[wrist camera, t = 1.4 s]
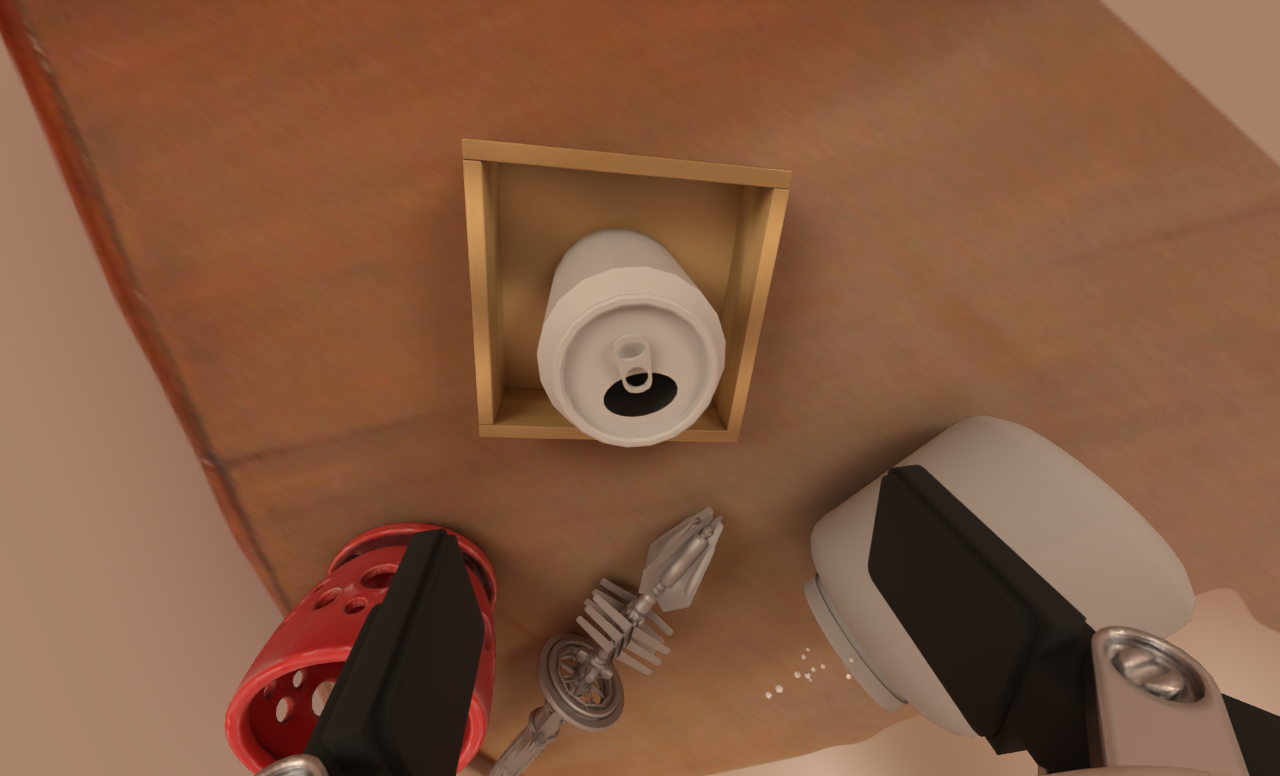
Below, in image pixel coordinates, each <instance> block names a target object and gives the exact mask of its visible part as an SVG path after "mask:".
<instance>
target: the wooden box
mask: <svg viewBox="0 0 1280 776" xmlns="http://www.w3.org/2000/svg"><path fill="white" fill-rule="evenodd" d="M461 143H462V157H463V159H464V160H463V173H464V190H465V206H466V222H467V238H468V255H469V271H470V287H471V304H472V320H473V336H474V352H475V369H476V385H477V401H478V418H479V436H480V437H486V438H534V439H582V440H596V439H594V438H592V437H590V436H588V435H586V434H584V433H582V432H581V431H580V430H579V429H578V428H577V427H576V426H575V425H573V424H571V423H570V422H569V421H568V420H567V419H566V418H565V417H564V416H563V415H562V414H561V413H560V412H559V411H558V410H557V409H556V408H555V407H554V406H553V405H552V403H551V401H550V399H549V397H548V395H547V393H546V391H545V389H544V387H543V385H542V383H541V381H540V374H539V366H538V359H537V351H538V346H539V341H540V337H541V332H542V328H543V323H544V319H545V314H546V310H547V305H548V301H549V296H550V292H551V287H552V283H553V278H554V274H555V269H556V268H557V266H558V264H559V263H560V261H561V259H562V258H563V256H564V254H565V253H566V251H567V250H568V249H569V248H571V247H572V246H573V245H574V244H575V243H576V242H578V241H579V240H580V239H581V238H582V237H584V236H587V235H589V234H592V233H594V232H597V231H599V230H602V229H611V228H628V229H631V230H635V231H638V232H642V233H645V234H647V235H649V236H650V237H652V238H653V239H655V240H656V241H657V242H659V243H660V244H662V245H663V246H664V247H665V248H666V249H667V250H668V252H669V253H670V254H671V255H672V257H673V258H674V259H675V260H676V262H677V263H678V264H679V265H680V267H681V268H682V269H683V270H684V271H685V273H686V274H687V275H688V276H689V278H690V279H691V280H692V281H693V283H694V284H695V285H696V286H697V288H698V289H699V290H700V291H701V293H702V294H703V295H704V297H705V298H706V299H707V301H708V302H709V303H710V305H711V306H712V308H713V309H714V310H715V312H716V313H717V314H718V317H719V321H720V324H721V327H722V331H723V334H724V338H725V341H726V343H725V363H724V370H723V373H722V375H721V378H720V380H719V383H718V385H717V388H716V391H715V393H714V394H713V397H712V399H711V402H710V404H709V406H708V407H707V408H706V409H705V411H704V412H703V413H702V414H701V416H700V417H699V418H698V419H697V421H696V422H695V423H694V424H693V425H691V426H690V427H688V428H687V429H686V430H684V431H683V432H681V433H680V434H679V435H677V436H676V437H674V438H671V439H669V440H666V441H679V442H727V443H737V442H738V438H739V433H740V429H741V424H742V419H743V414H744V409H745V404H746V400H747V395H748V390H749V385H750V380H751V375H752V371H753V366H754V361H755V356H756V351H757V346H758V342H759V337H760V332H761V327H762V322H763V317H764V313H765V308H766V303H767V298H768V293H769V288H770V284H771V279H772V274H773V269H774V264H775V259H776V255H777V250H778V245H779V240H780V235H781V230H782V226H783V221H784V216H785V211H786V206H787V201H788V197H789V192H790V190H789V189H790V186H791V181H792V177H793V171H791V170H782V169H773V168H765V167H755V166H745V165H735V164H725V163H715V162H705V161H695V160H685V159H674V158H664V157H654V156H644V155H634V154H624V153H614V152H604V151H594V150H583V149H573V148H563V147H553V146H543V145H533V144H523V143H513V142H502V141H492V140H482V139H468V138H462V139H461Z"/></svg>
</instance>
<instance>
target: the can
mask: <svg viewBox="0 0 1280 776" xmlns="http://www.w3.org/2000/svg"><path fill="white" fill-rule="evenodd" d="M725 343H726V341H725V338H724V334H723V331H722V327H721V324H720V321H719V317H718V314H717V313H716V312H715V310H714V309H713V308H712V306H711V305H710V303H709V302H708V301H707V299H706V298H705V297H704V295H703V294H702V293H701V291H700V290H699V289H698V288H697V286H696V285H695V284H694V283H693V281H692V280H691V279H690V278H689V276H688V275H687V274H686V273H685V271H684V270H683V269H682V268H681V267H680V265H679V264H678V263H677V262H676V260H675V259H674V258H673V257H672V255H671V254H670V253H669V252H668V250H667V249H666V248H665V247H664V246H663V245H662V244H660V243H659V242H657V241H656V240H655V239H653V238H652V237H650V236H649V235H647V234H645V233H642V232H638V231H635V230H631V229H628V228H611V229H602V230H599V231H597V232H594V233H592V234H589V235H587V236H584V237H582V238H581V239H580V240H579V241H578V242H576V243H575V244H574V245H573V246H572V247H571V248H569V249H568V250H567V251H566V253H565V254H564V256H563V258H562V259H561V261H560V263H559V264H558V266H557V268H556V269H555V274H554V278H553V283H552V287H551V292H550V296H549V301H548V305H547V310H546V314H545V319H544V323H543V328H542V332H541V337H540V341H539V346H538V351H537V359H538V366H539V374H540V381H541V383H542V385H543V387H544V389H545V391H546V393H547V395H548V397H549V399H550V401H551V403H552V405H553V406H554V407H555V408H556V409H557V410H558V411H559V412H560V413H561V414H562V415H563V416H564V417H565V418H566V419H567V420H568V421H569V422H570V423H571V424H573V425H575V426H576V427H577V428H578V429H579V430H580V431H581V432H582V433H584V434H586V435H588V436H590V437H592V438H594V439H596V440H598V441H600V442H602V443H605V444H610V445H615V446H621V447H626V448H629V447H641V446H652V445H655V444H657V443H660V442H663V441H666V440H669V439H671V438H674V437H676V436H677V435H679V434H680V433H681V432H683V431H684V430H686V429H687V428H688V427H690V426H691V425H693V424H694V423H695V422H696V421H697V419H698V418H699V417H700V416H701V414H702V413H703V412H704V411H705V409H706V408H707V407H708V406H709V404H710V402H711V399H712V397H713V394H714V393H715V391H716V388H717V385H718V383H719V380H720V378H721V375H722V373H723V370H724V363H725Z"/></svg>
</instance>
